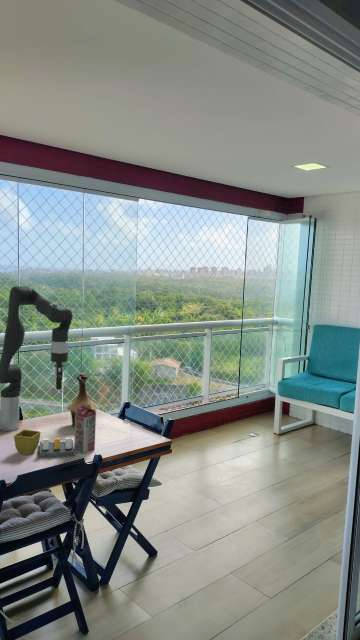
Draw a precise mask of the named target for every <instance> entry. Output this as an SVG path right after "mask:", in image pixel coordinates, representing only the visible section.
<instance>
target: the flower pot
mask: <svg viewBox="0 0 360 640" xmlns="http://www.w3.org/2000/svg"><path fill="white" fill-rule="evenodd" d="M41 434H42V433H41V431H39V430H31V429H21V431H19V432H18V433H15V434H14V435H13V438H14V439H13V440H14V447H15V449H16V452H18V454H20V455H21V454H22V455H27V456H28V455H31V454H33V453H34V452H35V451H36V450H37V448H38V446H39V445H40V441H41V440H40V438H41Z"/></svg>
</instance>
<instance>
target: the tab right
mask: <svg viewBox="0 0 360 640" xmlns="http://www.w3.org/2000/svg"><path fill="white" fill-rule="evenodd" d="M65 440H66V442H65V448H66V449H70V448H71V445H72V440H73V437H65Z"/></svg>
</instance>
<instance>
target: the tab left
mask: <svg viewBox="0 0 360 640" xmlns="http://www.w3.org/2000/svg"><path fill="white" fill-rule="evenodd" d="M42 441H43V450H48V449H49V441H50V438H49V437H48V438H47V437H45V438H42Z"/></svg>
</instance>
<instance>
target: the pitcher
mask: <svg viewBox="0 0 360 640" xmlns="http://www.w3.org/2000/svg"><path fill="white" fill-rule="evenodd" d="M76 379H77V381H78V386H79V387H78V389H79V392H78V394H77V397H76V398H75V399H74V400H73V401H72V402H71V403H69V404H67V405H66V409H67V410H69V411H70V416H71V423H72V424H71V425H72V428H75V411H76V410H77V409H78V408H79V407H80V406H81V402H82V403H85V404H89V405H91V409H93V410H95V411H96V410H98V409H99V408H100V406H99V405H98V404H97V403H96V402H94V401H93V400H92V399H91V398H89V396H88V393H87V389H86V388H87V387H86V383H87V381H89V380H90V377H89V376H87V375H85V374H84V373H82V372H80V373H79V376H76Z"/></svg>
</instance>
